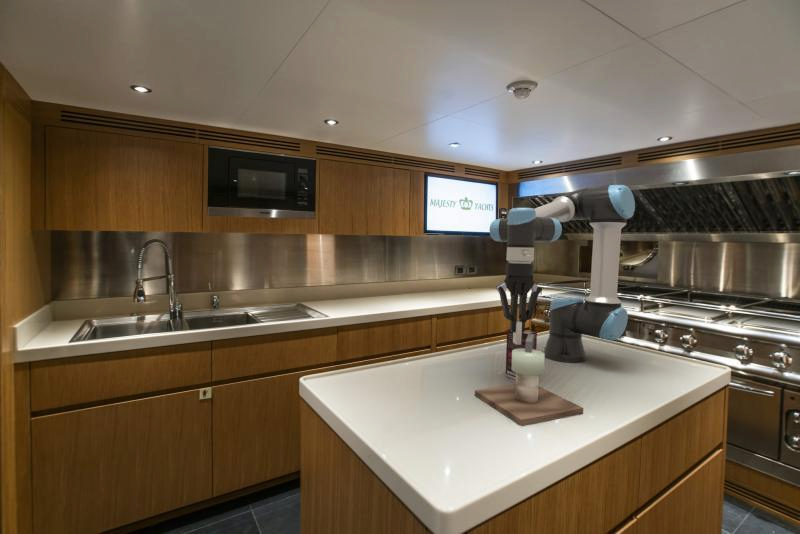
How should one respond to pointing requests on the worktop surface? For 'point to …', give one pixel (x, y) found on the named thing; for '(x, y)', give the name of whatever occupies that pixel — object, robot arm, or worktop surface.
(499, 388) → the wooden board with post
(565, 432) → the worktop surface
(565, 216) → the robot arm
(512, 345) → the supplement box
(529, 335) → the white cylinder
